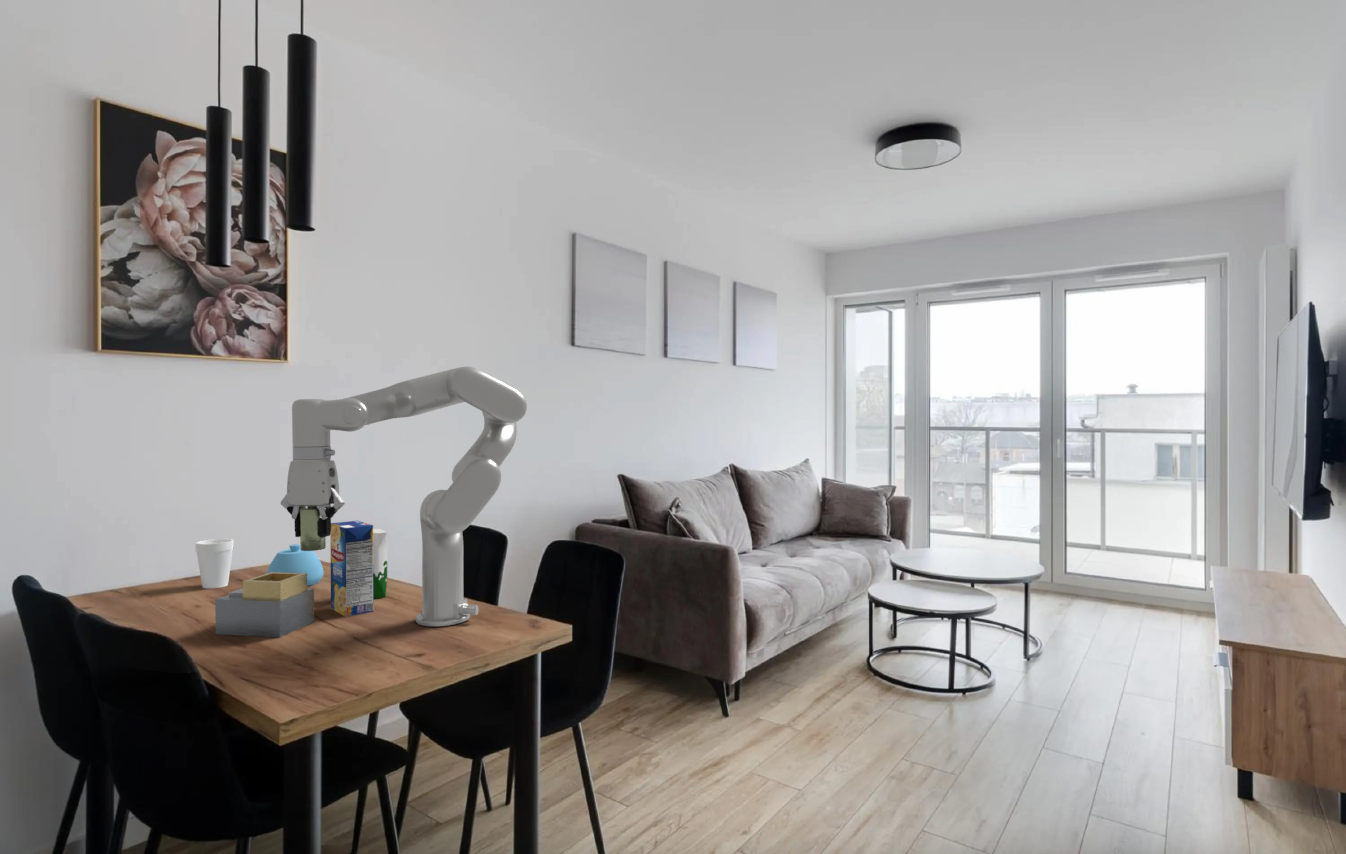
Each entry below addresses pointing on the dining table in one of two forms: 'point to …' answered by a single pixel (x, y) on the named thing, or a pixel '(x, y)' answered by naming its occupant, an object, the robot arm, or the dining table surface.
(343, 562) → the beverage box
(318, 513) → the green bottle
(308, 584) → the sugar bowl
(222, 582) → the foam cup
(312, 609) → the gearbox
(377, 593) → the milk carton
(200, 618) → the dining table surface
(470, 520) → the robot arm
